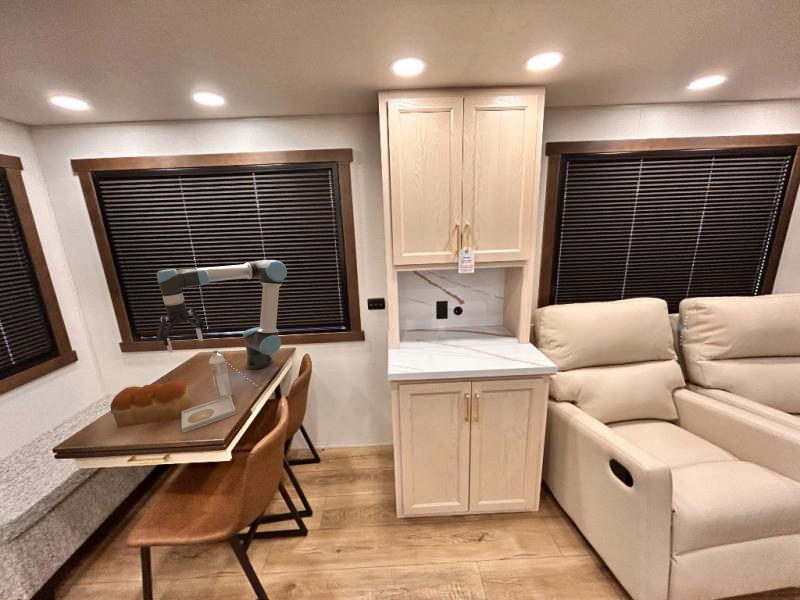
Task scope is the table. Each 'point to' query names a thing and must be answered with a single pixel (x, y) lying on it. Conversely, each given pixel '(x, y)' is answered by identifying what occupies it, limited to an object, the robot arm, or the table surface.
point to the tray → (207, 413)
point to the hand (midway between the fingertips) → (186, 346)
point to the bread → (150, 403)
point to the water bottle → (220, 375)
